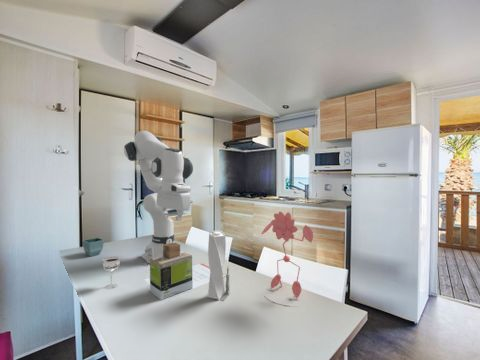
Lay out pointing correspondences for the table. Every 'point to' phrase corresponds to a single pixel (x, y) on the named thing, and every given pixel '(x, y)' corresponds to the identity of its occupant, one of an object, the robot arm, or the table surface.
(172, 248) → the walnut cube
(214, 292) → the skyscraper
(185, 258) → the tea box
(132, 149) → the robot arm
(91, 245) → the flower pot
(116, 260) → the wineglass
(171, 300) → the table surface
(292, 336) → the table surface
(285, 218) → the figurine
